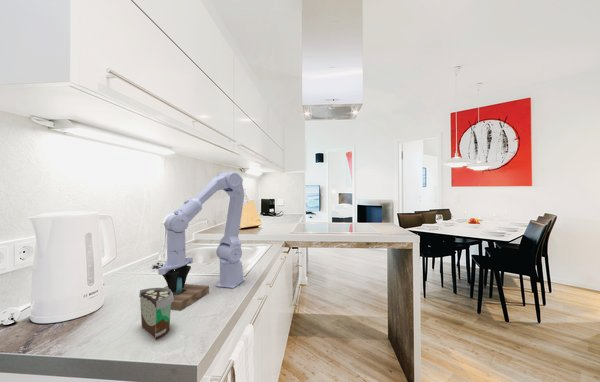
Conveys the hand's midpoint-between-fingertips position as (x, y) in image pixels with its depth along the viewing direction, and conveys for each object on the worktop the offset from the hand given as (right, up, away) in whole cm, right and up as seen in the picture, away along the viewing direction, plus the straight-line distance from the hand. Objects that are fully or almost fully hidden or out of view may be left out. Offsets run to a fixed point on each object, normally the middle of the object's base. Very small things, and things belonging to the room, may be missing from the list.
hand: (177, 289), depth 94 cm
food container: (+5, -4, -21) cm, 21 cm away
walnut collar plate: (0, -3, 0) cm, 3 cm away
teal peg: (0, -2, 0) cm, 2 cm away
